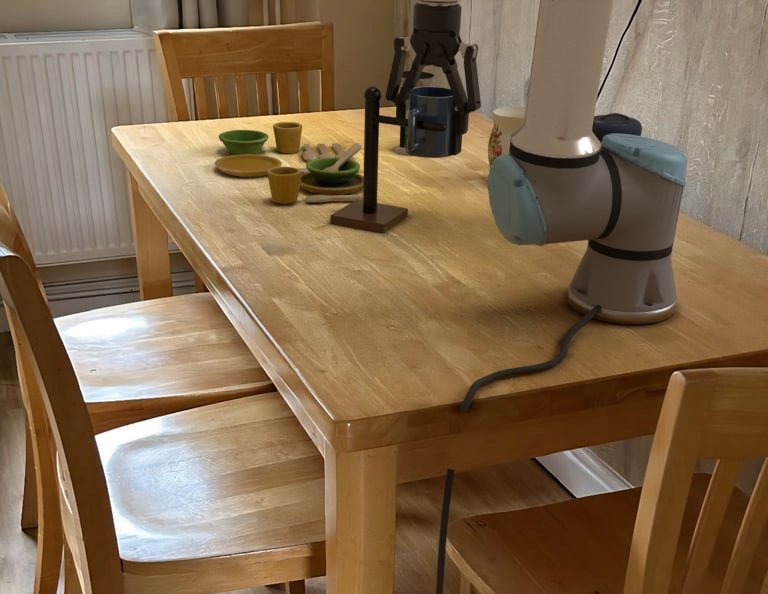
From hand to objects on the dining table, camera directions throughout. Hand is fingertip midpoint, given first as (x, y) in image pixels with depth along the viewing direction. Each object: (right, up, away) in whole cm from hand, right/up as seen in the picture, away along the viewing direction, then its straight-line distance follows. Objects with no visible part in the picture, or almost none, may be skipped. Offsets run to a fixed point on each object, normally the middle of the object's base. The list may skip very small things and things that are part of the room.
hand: (430, 149), depth 177 cm
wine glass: (-2, +14, +43) cm, 45 cm away
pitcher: (+17, +2, +26) cm, 31 cm away
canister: (+30, -10, +9) cm, 33 cm away
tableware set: (-26, +4, +27) cm, 37 cm away
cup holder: (-7, -12, +3) cm, 14 cm away
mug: (-1, -1, -2) cm, 2 cm away
